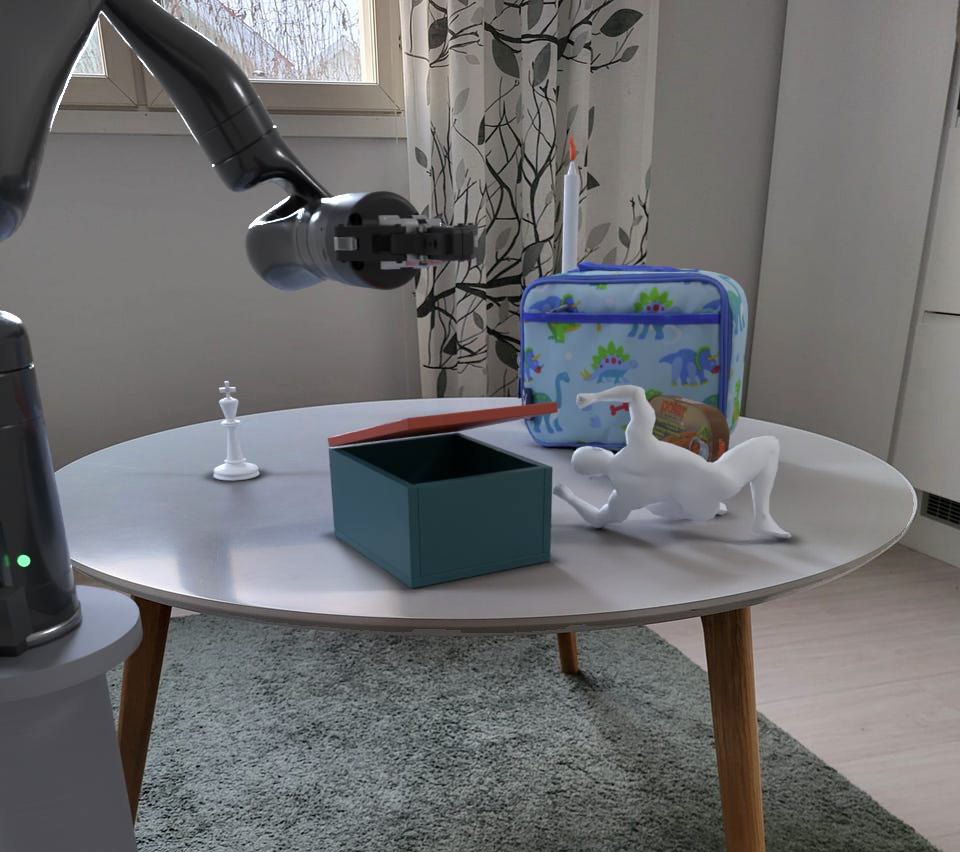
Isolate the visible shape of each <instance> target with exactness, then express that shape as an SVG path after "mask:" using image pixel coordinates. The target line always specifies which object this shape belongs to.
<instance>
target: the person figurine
mask: <svg viewBox="0 0 960 852" xmlns="http://www.w3.org/2000/svg"><path fill="white" fill-rule="evenodd" d="M598 401H618V402H625V403H627V402H630V406H629V411H630V416H631V421H630V423H629V424H628V426H627V429H626V431H625V435H626V442H627V446H626V447H624V448H623V449H622V450H620V451H617V453H615V454H614V453H613V452H612V450H605V449H602V448H598V447H589V446H585V447H581V448H576V450H575V451H574V452H573V454H572V456H571V459H570V462H571V468H572V469H573V471H574V472H575V474H577V475H581V476H584V477H588V479H589V480H594V479H598V478H600V477H604V476H605V477H607V478H608V479H609V480H610V482H611V484H612V486H613V488H614V489H613V490H612V491H611V493H610V495H609V497H608V499H607V503H606V504H604V505H603V506H602V507H601V508H600V509H599V508H598V507H595V506H594V505H592V504H590V503H588V502H587V501H585V500H584V499H582V498H580V497H578V496H577V495H576V494H574V493H573V492H572V490H571V489H570V488H569V487H568V486H567V485H565V484H564V482H559V483H557V484H556V485H555V486H554V488H553V490H552V495H554V496H556V497H558V498H559V499H561V500H563V501H564V502H566V503H567V504H568V505H570V506H571V507H572V508H573V509H574V510H575V511H576V512H577V513H578V515H580V518H582V519H583V520H584V521H585V522H586V523H587V524H590V525H591V526H592V527H594V528H596V529H601V528H603V527H605V526H606V525H610V524H620V523H624V521H626V520H628V517H629V515H630V514H631V512H632V511H636V510H641V509H643V508H644V509H646V510H648V511H649V512H650V513H651V514H653V515H654V516H659V517H662V518H665V519H669V520H673V521H679V520H690V521H691V520H692V521H696V522H708V521H710V520H712V519H713V518H715V516H716V515H718V516H719V515H720V516H724V515H725V514H726V513H727V512H728V509H727V505H726V504H724V503H723V502H725V501H726V502H727V501H729V500H730V499H732V498H733V497H734V496H736V495H737V494H739V493H740V492H741V491H742V488H743V487H744V486H746V485H747V484H749V485H750V491H751V493H750V494H751V499H752V505H753V513H754V516H753V517H754V518H753V522H752V533H754V534H762V535H771V536H773V537H776V538H783V539H787V538H788V539H790V538H792V535H791V533H790V532H789V531H786V530H784V529H782V528H781V527H780V526H779V525H778V524H777V523H776V522H775V520H774V519H773V517H772V516H771V513H770V497H771V494H772V489H773V486H774V482H775V479H776V476H777V472H778V469H779V455H780V453H781V445H780V441H779V439H778V438H777V437H775V436H774V435H762V436H757V437H753V438H751V439H747V440H744V441H742V442H740V443H739V444H737V445H735V446H733V447H732V448H731V449H730V448H729V449H728V451H727V452H725V453H724V454H723V455H722V456H721V457H720V458H719V459H718V460H717V461H715V462H713V463H711V462H707V461H706V460H705V459H704V458H702V457H701V456H699V455H697V454H695V453H693V452H691V451H689V450H687V449H685V448H682V447H679V446H676V445H674V444H671V443H667V442H663V441H659V440H658V439H656V438H655V437H654V436H653V435H652V430H653V426H654V423H655V412H654V409H653V408H652V406H651V405H650V404H649V402H648V401H647V400H646V395H645V390H644V389H643V388H641V387H637V386H633V385H624V386H616V387H614V388H611V389H608V390H605V391H603V392H598V393H579V394H578V395H577V400H576V405H578V407H579V409H580V410H581V409H582V408H584V407H586V406H588V405H590V404H592V403H595V402H598Z"/></svg>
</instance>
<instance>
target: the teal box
mask: <svg viewBox="0 0 960 852" xmlns="http://www.w3.org/2000/svg"><path fill="white" fill-rule="evenodd" d="M328 461H329V474H330V490H331V501H332V502H331V503H332V515H333V516H332V517H333V529H334V532H333V533H334V536H335V537H336V538H338V539H340V540H341V541H342V542H344V543H345V544H347V545H348V546H349V547H350V548H352V549H354V550H355V551H357V552H358V553H360V555H362V556H364V557H366V558H367V559H368V560H370V561H371V562H373V563H374V564H375V565H377V566H378V567H380V568H381V569H383V570H384V571H386V572H387V573H389V575H391V576H393V577H394V578H396V579H397V580H399V581H400V582H401V583H403V584H404V585H406V586H407V587H409V588H410V589H416V588H421V587H428V586H432V585H437V584H441V583H447V582H451V581H456V580H462V579H467V578H473V577H477V576H482V575H488V574H491V573H498V572H501V571H506V570H507V571H508V570H511V569H512V570H513V569H517V568H522V567H526V566H532V565H536V564H542V563H547V562H550V561H551V556H552V555H551V551H552V549H551V548H552V547H551V546H552V513H553V511H552V510H553V509H552V508H553V506H552V505H553V471H554V470H553V466H551V465H548V464H546V463H543V462H540V461H538V460H535V459H531V458H529V457H526V456H523V455H521V454H518V453H516V452H514V451H513V452H512V451H510V450H507V449H504V448H501V447H499V446H497V445H493V444H491V443H489V442H486V441H482V440H480V439H477V438H475V437H471V436H469V435H466V434H464V433H460V432H451V433H442V434H434V435H426V436H418V437H409V438H401V439H393V440H385V441H376V442H368V443H360V444H352V445H343V446H335V447H329V448H328Z"/></svg>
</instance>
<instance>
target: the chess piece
mask: <svg viewBox="0 0 960 852" xmlns="http://www.w3.org/2000/svg"><path fill="white" fill-rule="evenodd" d="M218 391H219V394H224V393H225V397H224V398H222V399H221V398H220V400H219V401H218V404H219V406H220V408H221V411H222V412H223V415H224V418H225V419H224V420H223V421H221V422H220V426H221V427H225V428H226V436H227V437H226V438H227V439H226V459H224V463H223V464H220V465H217V466H216V467H214V468H213V478H214V479H216V480H219V481H231V482H232V481H233V482H234V481H244V480H250V479H254V478H256V477H258V476H259V475H260V474H261V473H260V471H259V466H257V465H256V464H254V463H251V462H246V461H247V458H245V457H244V456H243V453H242V449H241V443H240V441H239V435H238V431H237V427H239V426H241V425H242V422H241V421H240V420H238V419H237V418H236V416H237V410H238V407H239V400H238V399H237V398H234V397H232V396H231V393H237V389H236V386H232V387H230V382H229V381H227V380H226V381H224V387H219V388H218Z"/></svg>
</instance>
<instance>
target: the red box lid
mask: <svg viewBox="0 0 960 852" xmlns="http://www.w3.org/2000/svg"><path fill="white" fill-rule="evenodd" d="M556 412H558V408H557V402H548V403H539V404H530V405H522V404H520V405H513V406H504V407H495V408H486V409H476V410H467V411H459V412H449V413H440V414H431V415H422V416H414V417H412V416H411V417H406V418H403V419H398V420H394V421H391V422H390V421H389V422H386V423H381V424H378V425H373V426H370V427H365V428H361V429H357V430H354V431H350V432H345V433H342V434H338V435H337V434H336V435H333V436H329V437H327V442H328V443H327V444H328V447H329V448H333V447H340V446H349V445H357V444H365V443H373V442H382V441H390V440H398V439H406V438H415V437H423V436H431V435H439V434H448V433H457V432H458V433H460V432H464V431H469V430H474V429H479V428H482V427H483V428H484V427H489V426H494V425H499V424H505V423H510V422H514V421H519V420H524V419H525V418H530V417H536V416H541V415H546V414H551V413H556Z"/></svg>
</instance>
